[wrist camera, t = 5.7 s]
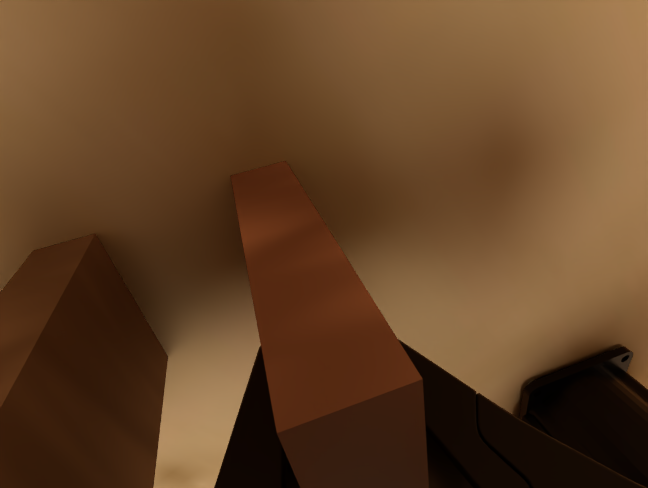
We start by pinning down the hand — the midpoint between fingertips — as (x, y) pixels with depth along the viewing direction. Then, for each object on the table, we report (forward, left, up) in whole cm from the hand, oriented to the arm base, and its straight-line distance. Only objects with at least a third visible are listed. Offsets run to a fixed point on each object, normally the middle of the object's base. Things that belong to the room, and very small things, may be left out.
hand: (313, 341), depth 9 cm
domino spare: (0, -1, -4) cm, 4 cm away
